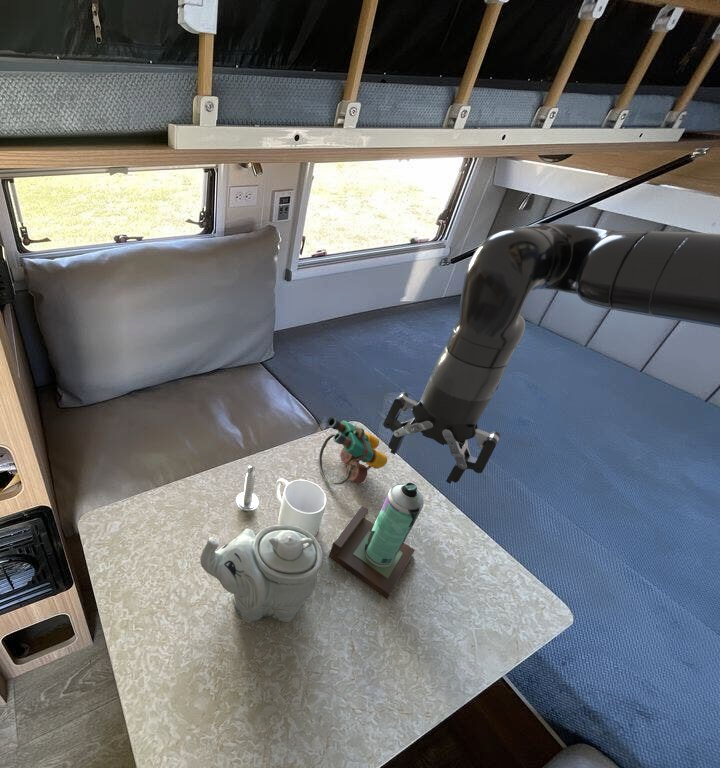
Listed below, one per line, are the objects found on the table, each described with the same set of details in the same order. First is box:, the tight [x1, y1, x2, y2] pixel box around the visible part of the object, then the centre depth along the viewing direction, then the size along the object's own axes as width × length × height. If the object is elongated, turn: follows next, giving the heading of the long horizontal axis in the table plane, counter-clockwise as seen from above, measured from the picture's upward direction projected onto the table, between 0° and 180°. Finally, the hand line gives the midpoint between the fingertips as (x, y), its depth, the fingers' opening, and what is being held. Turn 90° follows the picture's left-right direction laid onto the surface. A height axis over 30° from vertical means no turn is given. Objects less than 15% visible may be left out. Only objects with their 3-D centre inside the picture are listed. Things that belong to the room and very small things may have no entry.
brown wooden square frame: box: [327, 505, 416, 601], centre depth 78 cm, size 12×12×5 cm
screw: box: [235, 465, 259, 513], centre depth 85 cm, size 13×5×5 cm
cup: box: [274, 478, 328, 538], centre depth 83 cm, size 8×12×10 cm
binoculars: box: [318, 416, 388, 486], centre depth 94 cm, size 14×14×15 cm
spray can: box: [364, 482, 425, 567], centre depth 72 cm, size 6×6×20 cm
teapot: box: [199, 524, 324, 623], centre depth 68 cm, size 16×15×19 cm
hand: (421, 465), depth 63 cm, fingers open, 8 cm apart
